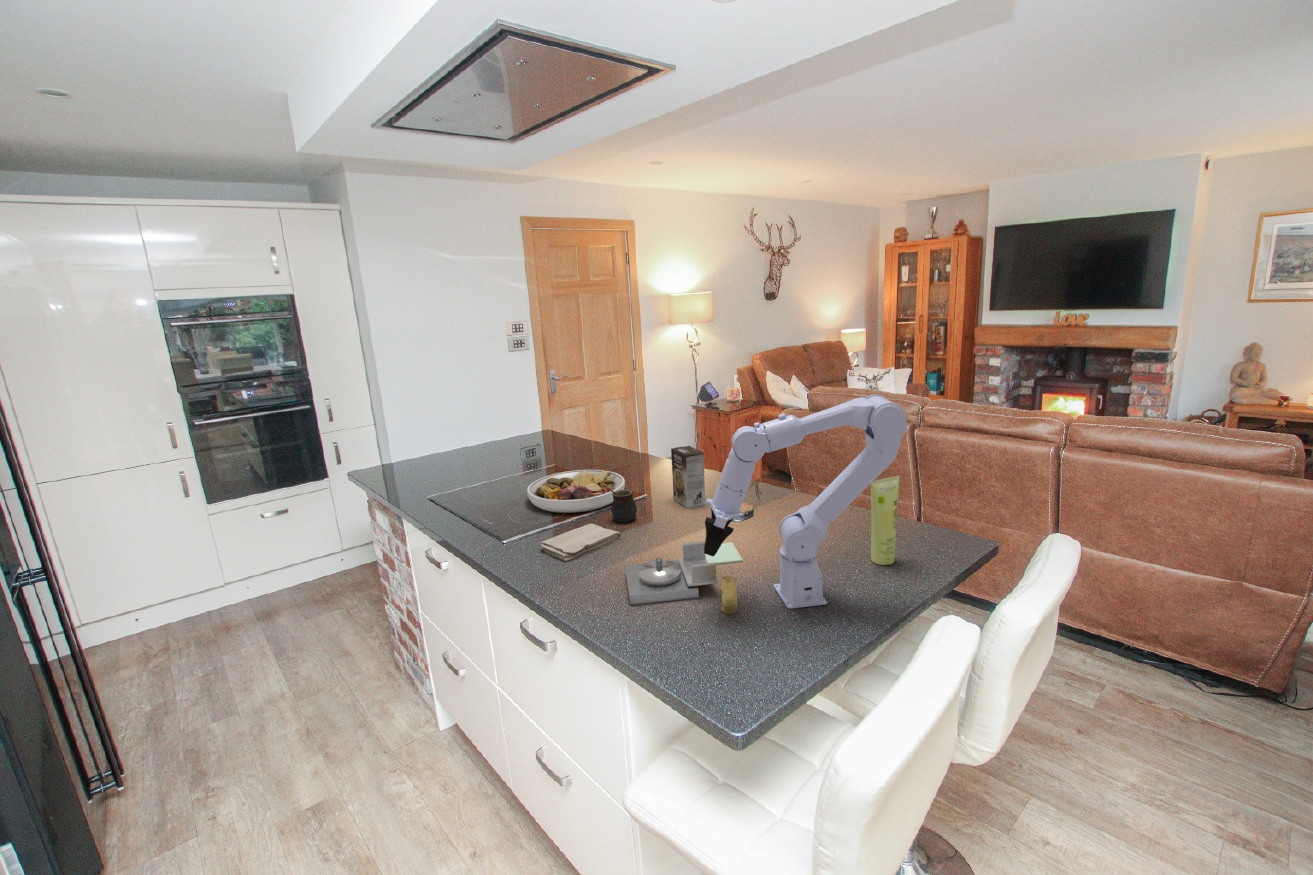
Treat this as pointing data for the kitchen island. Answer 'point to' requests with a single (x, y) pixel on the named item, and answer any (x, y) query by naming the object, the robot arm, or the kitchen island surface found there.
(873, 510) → the tube
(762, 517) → the kitchen island surface
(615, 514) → the mate gourd
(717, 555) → the pad
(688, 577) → the grey disc and bracket
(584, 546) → the washcloth
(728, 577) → the olive glass cylinder
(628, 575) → the base
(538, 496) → the bowl
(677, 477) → the coffee box
